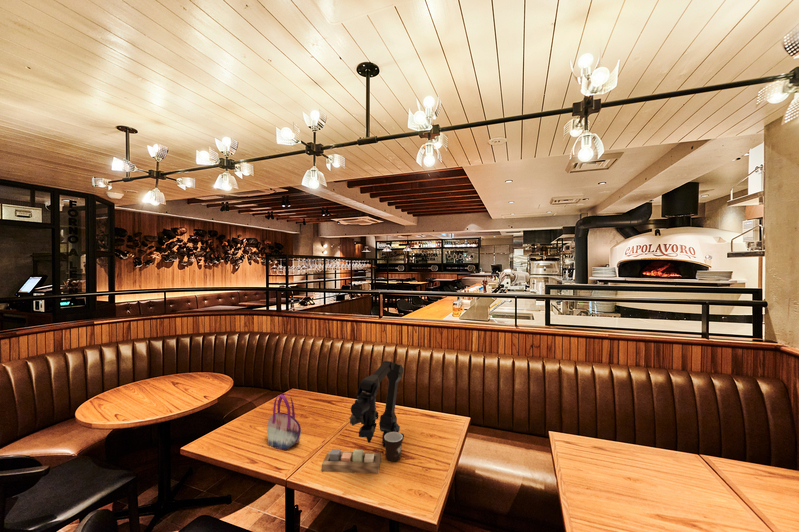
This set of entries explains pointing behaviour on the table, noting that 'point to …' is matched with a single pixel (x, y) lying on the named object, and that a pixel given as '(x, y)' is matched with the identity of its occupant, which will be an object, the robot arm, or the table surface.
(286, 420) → the handbag
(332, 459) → the gray cube
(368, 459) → the key ivory
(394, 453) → the coffee mug
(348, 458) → the pink cube
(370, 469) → the key bezel
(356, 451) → the key sage
